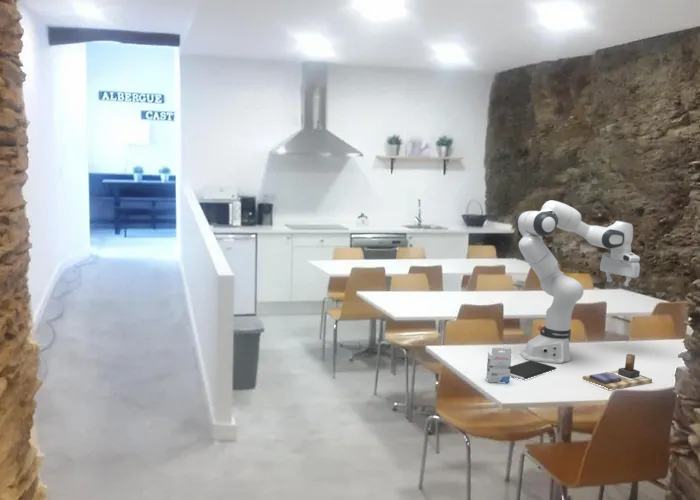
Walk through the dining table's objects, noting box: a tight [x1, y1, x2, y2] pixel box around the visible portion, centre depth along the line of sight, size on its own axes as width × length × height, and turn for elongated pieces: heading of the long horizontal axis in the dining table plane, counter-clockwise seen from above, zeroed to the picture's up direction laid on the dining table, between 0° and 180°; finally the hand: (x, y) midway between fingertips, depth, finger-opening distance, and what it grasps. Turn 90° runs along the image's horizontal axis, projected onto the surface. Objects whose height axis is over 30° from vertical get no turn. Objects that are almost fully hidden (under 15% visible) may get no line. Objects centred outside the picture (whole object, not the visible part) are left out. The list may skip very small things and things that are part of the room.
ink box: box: [485, 347, 512, 383], centre depth 284 cm, size 8×5×15 cm, turn 96°
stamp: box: [617, 353, 641, 379], centre depth 295 cm, size 6×6×9 cm
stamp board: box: [581, 369, 653, 390], centre depth 293 cm, size 26×14×3 cm, turn 119°
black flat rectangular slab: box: [510, 360, 557, 380], centre depth 301 cm, size 13×27×2 cm, turn 134°
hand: (617, 283), depth 329 cm, fingers open, 8 cm apart
